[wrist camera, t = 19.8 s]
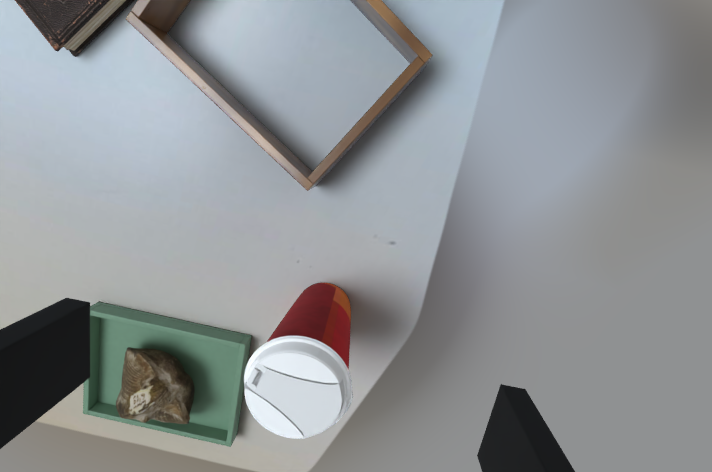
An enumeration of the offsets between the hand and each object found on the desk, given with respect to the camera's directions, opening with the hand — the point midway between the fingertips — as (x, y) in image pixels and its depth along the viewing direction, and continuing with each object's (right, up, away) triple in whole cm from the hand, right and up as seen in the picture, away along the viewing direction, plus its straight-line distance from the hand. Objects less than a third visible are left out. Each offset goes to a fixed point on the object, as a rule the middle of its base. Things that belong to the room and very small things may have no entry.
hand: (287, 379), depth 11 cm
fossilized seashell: (-19, -11, +29) cm, 36 cm away
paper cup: (-1, -3, +26) cm, 27 cm away
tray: (-19, -11, +29) cm, 36 cm away
